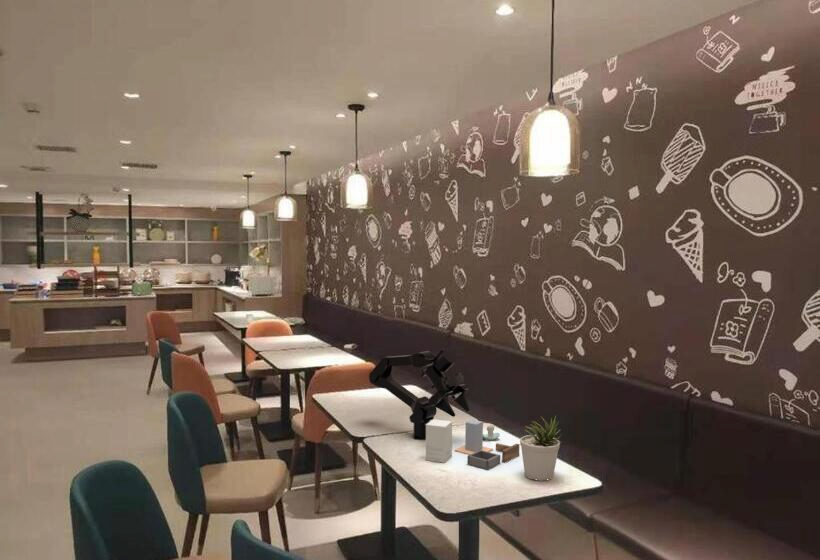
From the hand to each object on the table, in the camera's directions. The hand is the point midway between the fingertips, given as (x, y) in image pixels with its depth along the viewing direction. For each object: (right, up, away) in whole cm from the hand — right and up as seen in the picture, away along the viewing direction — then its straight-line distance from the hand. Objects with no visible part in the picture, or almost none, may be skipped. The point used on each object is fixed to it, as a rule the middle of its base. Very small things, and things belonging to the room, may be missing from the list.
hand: (461, 413), depth 216 cm
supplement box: (-9, -13, -11) cm, 20 cm away
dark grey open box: (+6, -13, -16) cm, 22 cm away
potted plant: (+23, -14, -27) cm, 38 cm away
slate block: (+4, -12, -3) cm, 13 cm away
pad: (+4, -13, -3) cm, 14 cm away
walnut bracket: (+13, -13, -8) cm, 20 cm away
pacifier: (+12, -13, +11) cm, 20 cm away
